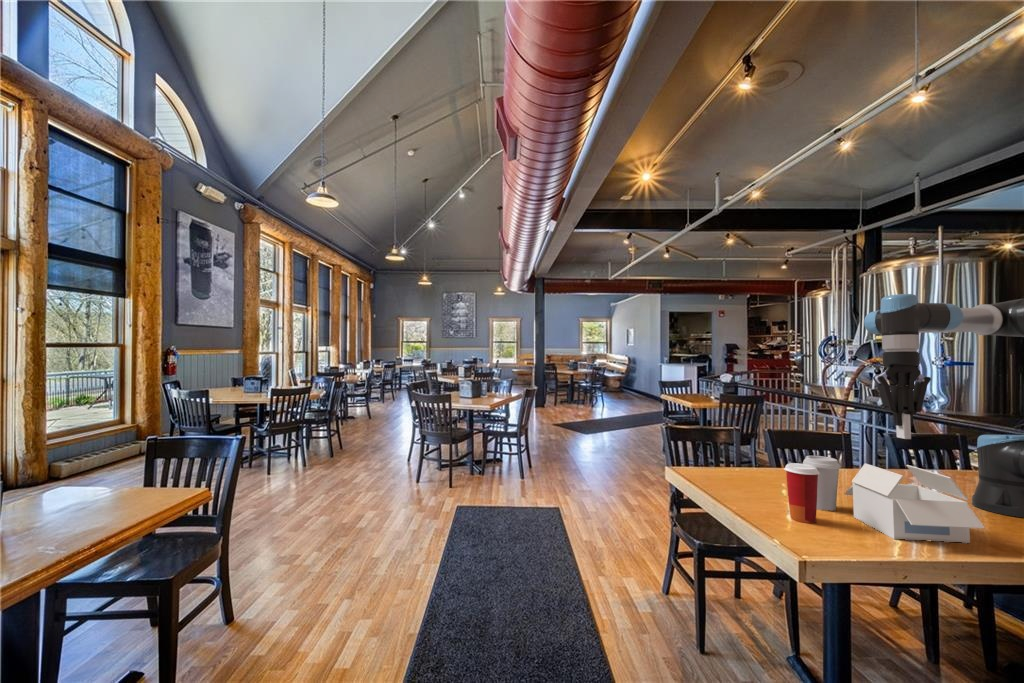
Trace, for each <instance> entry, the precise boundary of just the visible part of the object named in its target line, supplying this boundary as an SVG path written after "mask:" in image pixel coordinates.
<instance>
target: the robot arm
mask: <svg viewBox="0 0 1024 683" xmlns="http://www.w3.org/2000/svg"><path fill="white" fill-rule="evenodd" d="M863 323H864V324H863V325H864V328H865V330H866V331H867V332H868V333H870V334H872V335H881V349H882V350H883V353H882V355H881V357H882V365H883V369H882V372H881V373H880V374H879V375H874V376H873V377H872V379H873V381H874V382H875V383H876V385H877V388H878V392H879V395H880V399H881V402H882V406H883V409H884V410H885V411H888V412H890V414H891V413H892V421H893V425H894V426H895V428H896V438H899V439H904V440H912V433H911V432H912V431H911V430H912V428H911V427H914V426H913V425H914V415H917V413H920V412H922V410H923V405H924V400H925V396H926V391H927V387H928V385H929V383H930V382H931V381H932V378H931V377H930V376H925V375H924V374H922V373H921V371H920V368H919V366H920V364H921V358H920V356H921V355H920V354H921V353H920V352H919V351H917V350H920V336H919V335H920V333H921V334H923V333H924V334H929V333H932V334H933V333H974V335H975V334H976V335H979V336H1000V337H1021V338H1024V298H1019V299H1012V300H1007V301H1002V302H996V303H990V304H989V303H988V304H987V303H986V304H984V303H983V304H978V305H976V306H973V307H959V306H958V305H956V304H954V303H946V302H939V303H938V302H919V300H918V296H917V295H915V294H914V293H901V294H900V293H899V294H890V295H885V296H884V297H882V298H881V301H880V309H878V310H874V311H870V312H869V313H868V314H866V315H865V317H864V320H863ZM976 444H977V445H976V451H977V452H976V453H977V466H978V482H977V485H976V487H975V491H974V494H973V495H972V496H971V504H972V506H974V507H976V508H978V509H981V510H985V511H987V512H991V513H996V514H1000V515H1005V516H1009V517H1015V516H1016V517H1017V518H1022V517H1023V518H1024V434H1022V435H1021V434H1020V435H1019V434H981V435H979V436H978V437H977V443H976ZM1023 518H1022V519H1023Z"/></svg>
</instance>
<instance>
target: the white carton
mask: <svg viewBox="0 0 1024 683" xmlns="http://www.w3.org/2000/svg"><path fill="white" fill-rule="evenodd" d="M844 495H847V496H852V503H853V504H852V505H853V509H852V510H853V519H855V518H856V519H855V520H857V519H858V520H857V521H859V520H860V521H862V522H864V523H865V524H864V523H863V524H864V525H866V524H867V526H868V525H869V526H868V527H870V526H871V527H870V528H872V527H873V528H872V529H874V528H875V529H874V530H876V531H877V530H878V532H879V531H880V533H881V532H882V533H881V534H883V533H884V535H885V536H887V537H889V538H891V539H893V540H896V539H905V540H904V541H914V540H931V541H944V542H943V543H949V542H962V543H961V544H967V543H970V544H971V535H970V534H971V533H970V529H976V530H977V529H978V530H980V529H981V530H985V528H986V527H985V526H984V524H983V523H982V521H980V519H979V518H978V516H977V515H976V514H975V512H974V511H973V510H972V509H971V507H970V506H969V502H968V501H966V500H965V501H964V500H963V499H960V498H957V497H954V496H951V495H948V494H946V493H943V492H940V491H937V490H934V489H931V488H928V487H925V486H922V485H916V484H907V483H899V484H898V485H897V487H896V488H895V489H894V491H893V492H892V493H891V495H890V496H889V497H888V496H885V495H883V494H880V493H878V492H875V491H873V490H871V489H868V488H866V487H863V486H861V485H858V484H856V483H853V482H852V484H851V486H850V487H849V488H848V489H847V490H846V491H845V492H844ZM860 521H859V522H860ZM862 522H861V523H862ZM931 541H930V542H931Z"/></svg>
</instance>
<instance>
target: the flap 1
mask: <svg viewBox="0 0 1024 683" xmlns="http://www.w3.org/2000/svg"><path fill="white" fill-rule="evenodd" d="M904 478H905V476H904V475H903V474H900V473H896V472H892V471H891V470H888V469H884V468H881V467H878V466H875V465H872V464H869V463H863V465H862V466H861V468H860V469H859V471H858V472H857V473H856V475H855V476H854V477H853V479H852V480H851V483H852V484H853V483H856V484H858V485H861V486H863V487H866V488H868V489H871V490H873V491H875V492H878V493H880V494H883V495H885V496H888V497H889V496H890V495H891V493H892V492H893V491H894V489H895V488H896V487H897V485H898V484H901V481H902V480H903V479H904Z"/></svg>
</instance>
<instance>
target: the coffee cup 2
mask: <svg viewBox="0 0 1024 683" xmlns="http://www.w3.org/2000/svg"><path fill="white" fill-rule="evenodd" d="M802 464H807V465H811V466H815V467H816V468H817V470H818V472H819V474H818V486H817V510H819V509H821V510H820V511H824V510H830V511H829V512H834V511H833V510H835V511H837V502H838V501H837V499H838V498H837V497H838V486H839V485H838V484H839V474H840V473H839V471H840V469H841V468H842V467H841V464H840V463H839V461H838V459H836V458H834V457H830V456H829V457H827V456H824V455H822V456H821V455H806V456H805V457H804V459H803V462H802Z"/></svg>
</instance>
